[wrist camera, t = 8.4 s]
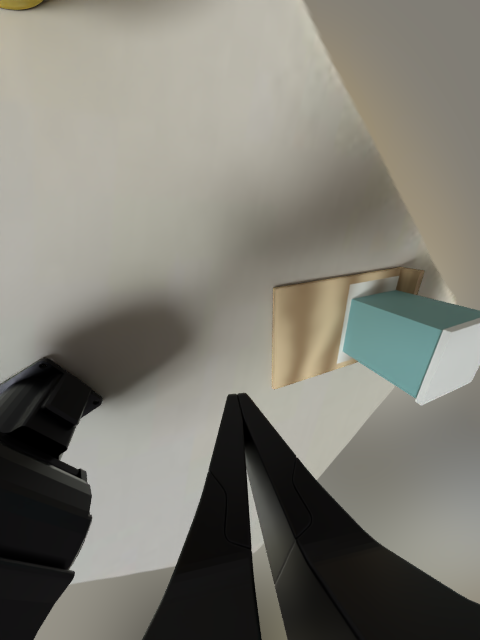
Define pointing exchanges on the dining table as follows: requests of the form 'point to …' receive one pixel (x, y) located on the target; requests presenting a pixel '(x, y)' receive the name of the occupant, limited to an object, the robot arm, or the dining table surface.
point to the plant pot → (18, 4)
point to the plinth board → (323, 320)
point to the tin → (415, 342)
